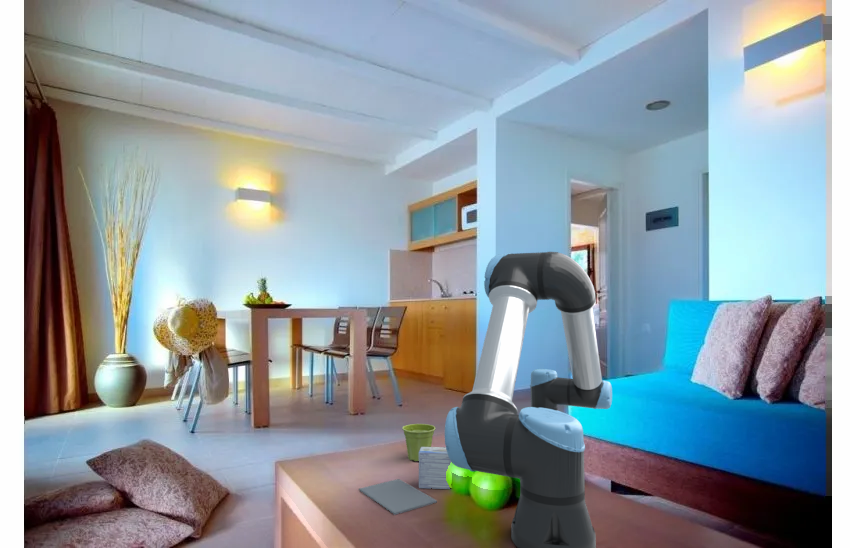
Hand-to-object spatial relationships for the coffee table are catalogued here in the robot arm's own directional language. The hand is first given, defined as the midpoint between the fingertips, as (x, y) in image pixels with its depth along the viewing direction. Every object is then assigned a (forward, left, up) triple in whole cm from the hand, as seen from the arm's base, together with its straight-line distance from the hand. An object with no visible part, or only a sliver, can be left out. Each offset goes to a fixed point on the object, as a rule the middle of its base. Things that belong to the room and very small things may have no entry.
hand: (453, 445), depth 120 cm
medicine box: (0, +6, -9) cm, 11 cm away
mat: (0, +17, -9) cm, 19 cm away
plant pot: (+19, -2, -9) cm, 21 cm away
